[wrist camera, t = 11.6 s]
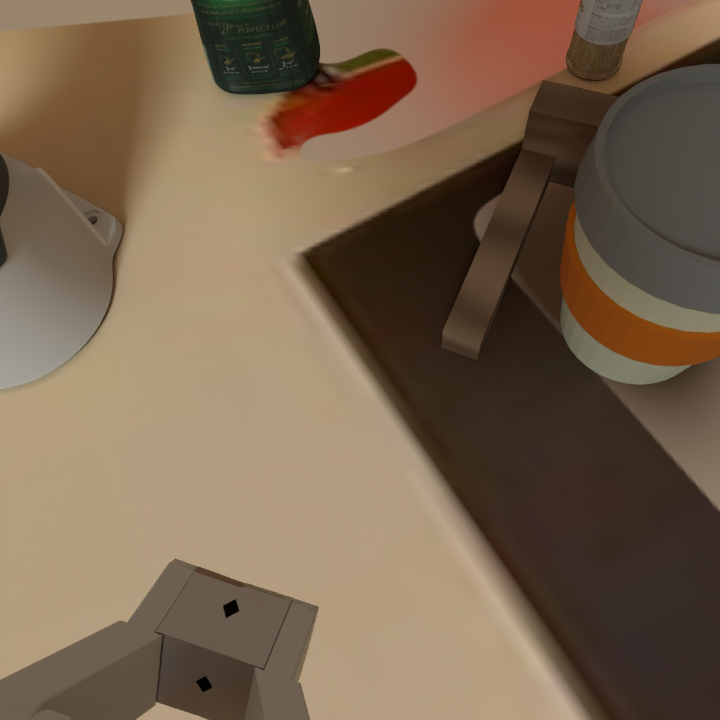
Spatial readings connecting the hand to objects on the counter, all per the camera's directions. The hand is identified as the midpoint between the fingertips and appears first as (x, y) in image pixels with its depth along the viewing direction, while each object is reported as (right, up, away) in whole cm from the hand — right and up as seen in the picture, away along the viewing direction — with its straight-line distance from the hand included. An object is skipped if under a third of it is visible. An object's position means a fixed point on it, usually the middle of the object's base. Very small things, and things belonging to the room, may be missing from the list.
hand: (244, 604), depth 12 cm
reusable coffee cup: (+20, +7, +28) cm, 36 cm away
